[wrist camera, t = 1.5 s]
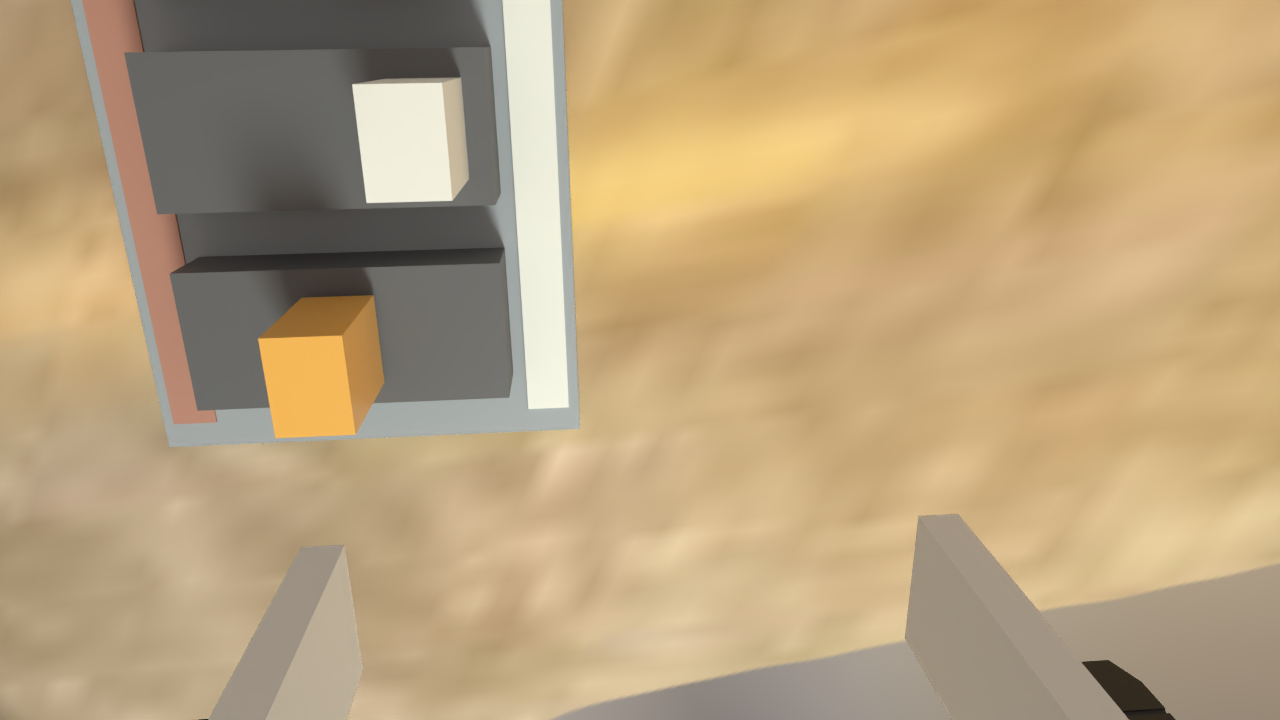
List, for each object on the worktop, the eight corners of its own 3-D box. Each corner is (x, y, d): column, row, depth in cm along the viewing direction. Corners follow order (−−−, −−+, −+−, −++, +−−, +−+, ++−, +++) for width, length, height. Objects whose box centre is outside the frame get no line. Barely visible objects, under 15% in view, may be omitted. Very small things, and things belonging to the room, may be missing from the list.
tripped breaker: (315, 385, 30) (275, 438, 26) (301, 297, 29) (258, 338, 25) (384, 382, 31) (355, 434, 26) (373, 295, 30) (341, 335, 25)
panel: (185, 431, 35) (74, 541, 27) (36, -271, 27) (-183, -401, 19) (579, 413, 36) (582, 516, 28) (551, -266, 28) (544, -388, 20)
